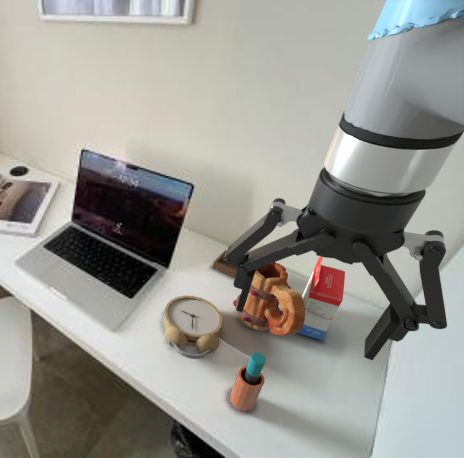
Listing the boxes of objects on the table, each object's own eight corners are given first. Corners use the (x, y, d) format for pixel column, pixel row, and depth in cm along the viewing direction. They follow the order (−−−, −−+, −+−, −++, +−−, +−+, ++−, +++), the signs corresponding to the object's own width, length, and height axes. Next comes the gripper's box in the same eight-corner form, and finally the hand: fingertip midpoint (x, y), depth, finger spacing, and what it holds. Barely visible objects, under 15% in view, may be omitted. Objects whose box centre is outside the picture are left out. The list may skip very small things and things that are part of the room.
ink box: (321, 341, 69) (350, 290, 60) (292, 331, 72) (315, 280, 63) (325, 310, 74) (352, 259, 66) (298, 302, 77) (320, 251, 68)
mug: (224, 303, 79) (237, 253, 69) (260, 298, 79) (277, 246, 70) (260, 363, 67) (281, 312, 58) (302, 356, 67) (330, 304, 58)
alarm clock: (221, 299, 76) (225, 351, 64) (217, 316, 78) (221, 370, 66) (166, 291, 79) (160, 339, 67) (165, 308, 82) (159, 358, 69)
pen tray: (281, 281, 82) (283, 275, 80) (271, 295, 79) (273, 289, 78) (223, 256, 90) (225, 249, 89) (212, 268, 87) (213, 261, 86)
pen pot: (258, 404, 61) (270, 380, 56) (242, 416, 60) (252, 392, 55) (241, 386, 64) (250, 361, 59) (224, 396, 63) (233, 372, 58)
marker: (251, 401, 61) (269, 360, 54) (242, 406, 61) (259, 366, 53) (241, 391, 63) (257, 350, 55) (233, 396, 62) (248, 356, 55)
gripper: (577, 185, 27) (432, 346, 40) (233, 137, 40) (207, 272, 53) (616, 242, 23) (438, 403, 36) (212, 167, 35) (189, 307, 48)
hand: (300, 325), depth 44 cm, fingers open, 13 cm apart
